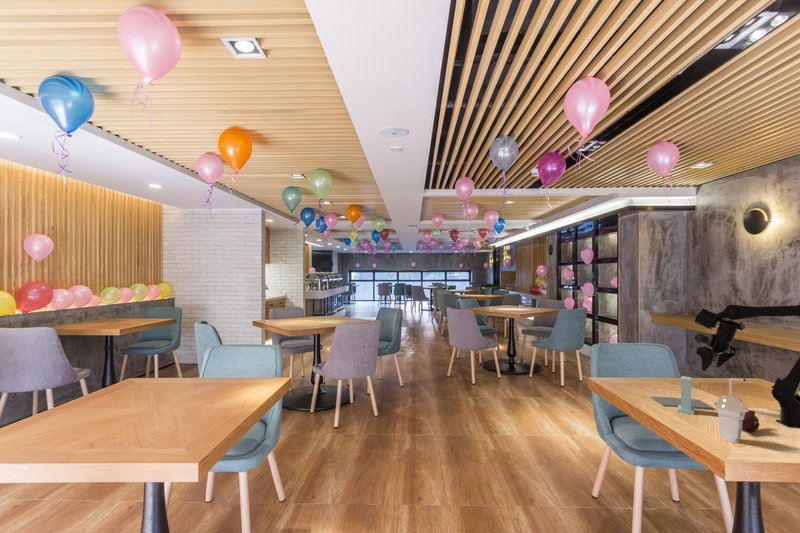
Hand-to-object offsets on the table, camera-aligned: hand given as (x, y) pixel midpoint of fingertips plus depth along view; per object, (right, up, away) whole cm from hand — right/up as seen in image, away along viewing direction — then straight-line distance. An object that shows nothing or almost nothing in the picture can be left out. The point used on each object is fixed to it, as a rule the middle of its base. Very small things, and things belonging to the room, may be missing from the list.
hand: (710, 368), depth 169 cm
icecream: (-9, -14, -29) cm, 33 cm away
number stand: (-16, -14, -9) cm, 23 cm away
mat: (-11, -14, +1) cm, 18 cm away
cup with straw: (-21, -13, -38) cm, 45 cm away
